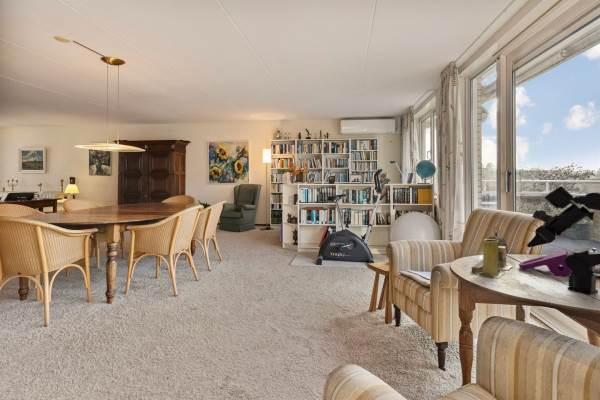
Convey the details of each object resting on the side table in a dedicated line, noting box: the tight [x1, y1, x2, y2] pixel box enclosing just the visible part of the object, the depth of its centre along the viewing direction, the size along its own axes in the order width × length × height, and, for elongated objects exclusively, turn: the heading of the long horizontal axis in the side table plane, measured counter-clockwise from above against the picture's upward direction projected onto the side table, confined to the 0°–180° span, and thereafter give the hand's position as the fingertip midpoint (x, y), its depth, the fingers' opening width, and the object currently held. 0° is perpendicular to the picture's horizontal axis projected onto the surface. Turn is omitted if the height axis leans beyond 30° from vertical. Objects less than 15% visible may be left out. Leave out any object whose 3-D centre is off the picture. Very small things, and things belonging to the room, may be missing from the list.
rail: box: [471, 246, 514, 279], centre depth 142 cm, size 11×24×9 cm, turn 134°
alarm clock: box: [487, 226, 508, 255], centre depth 159 cm, size 11×5×16 cm, turn 179°
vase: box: [482, 238, 499, 276], centre depth 136 cm, size 6×6×14 cm
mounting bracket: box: [518, 249, 572, 278], centre depth 138 cm, size 9×8×18 cm
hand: (530, 244), depth 126 cm, fingers open, 9 cm apart
